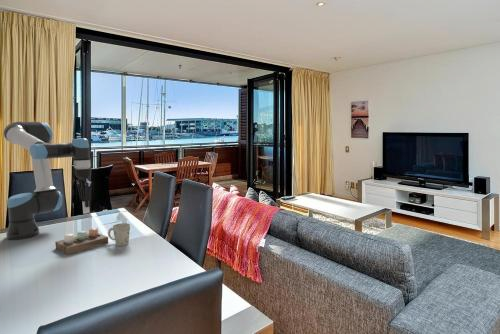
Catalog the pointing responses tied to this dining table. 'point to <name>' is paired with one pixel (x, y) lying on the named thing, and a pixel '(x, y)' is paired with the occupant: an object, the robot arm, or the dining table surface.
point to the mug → (120, 233)
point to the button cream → (69, 238)
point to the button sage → (81, 235)
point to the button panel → (81, 244)
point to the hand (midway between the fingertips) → (86, 213)
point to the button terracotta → (93, 232)
